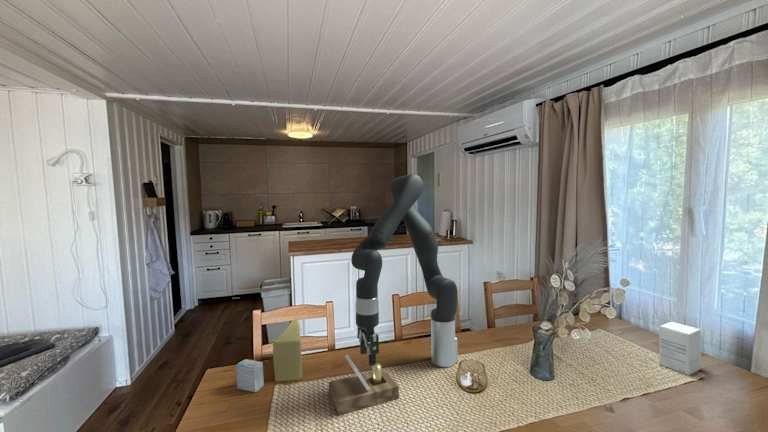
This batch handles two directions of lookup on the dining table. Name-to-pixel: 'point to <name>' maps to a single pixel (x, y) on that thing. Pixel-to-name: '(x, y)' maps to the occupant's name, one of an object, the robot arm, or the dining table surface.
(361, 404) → the walnut block
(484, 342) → the dining table surface
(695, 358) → the supplement box
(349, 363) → the steel flap
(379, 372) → the brass peg
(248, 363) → the medicine box
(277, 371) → the cheese
